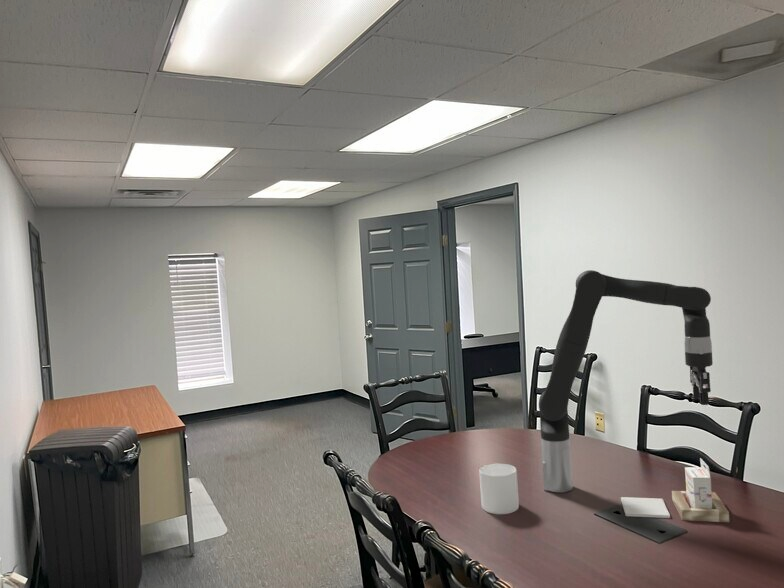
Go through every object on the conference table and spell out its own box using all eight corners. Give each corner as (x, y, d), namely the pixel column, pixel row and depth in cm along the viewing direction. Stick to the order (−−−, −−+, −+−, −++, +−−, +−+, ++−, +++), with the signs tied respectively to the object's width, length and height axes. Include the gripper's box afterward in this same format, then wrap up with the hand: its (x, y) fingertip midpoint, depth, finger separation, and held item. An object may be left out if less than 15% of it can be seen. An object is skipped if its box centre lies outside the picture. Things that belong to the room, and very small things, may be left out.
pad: (625, 516, 167) (625, 513, 167) (621, 499, 179) (620, 497, 179) (670, 518, 164) (670, 515, 164) (662, 501, 175) (662, 498, 175)
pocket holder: (682, 520, 162) (681, 509, 162) (672, 500, 176) (671, 490, 175) (729, 522, 159) (728, 511, 159) (715, 501, 172) (714, 492, 172)
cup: (520, 500, 184) (518, 464, 183) (516, 515, 173) (514, 477, 172) (485, 498, 188) (482, 462, 187) (478, 513, 177) (476, 475, 176)
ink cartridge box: (685, 504, 172) (683, 457, 171) (703, 504, 171) (701, 456, 170) (694, 517, 164) (692, 467, 163) (713, 517, 163) (711, 467, 162)
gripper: (680, 347, 185) (682, 396, 186) (690, 354, 172) (693, 407, 172) (705, 346, 183) (708, 396, 184) (718, 353, 170) (720, 406, 170)
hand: (700, 401), depth 178 cm, fingers open, 8 cm apart
